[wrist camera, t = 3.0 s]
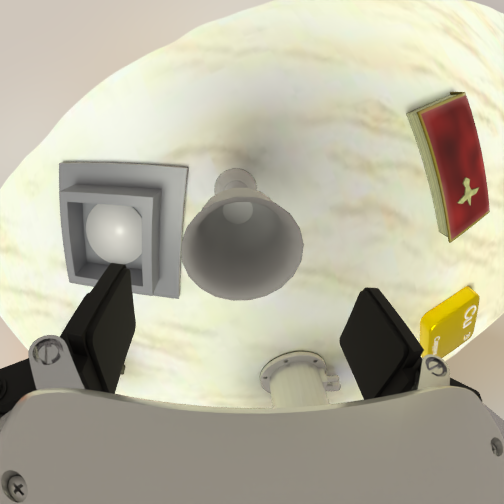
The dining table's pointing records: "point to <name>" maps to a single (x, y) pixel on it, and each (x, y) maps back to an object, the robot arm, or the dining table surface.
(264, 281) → the chalice
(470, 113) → the hardcover book
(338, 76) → the dining table surface
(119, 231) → the housing
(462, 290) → the element tile
